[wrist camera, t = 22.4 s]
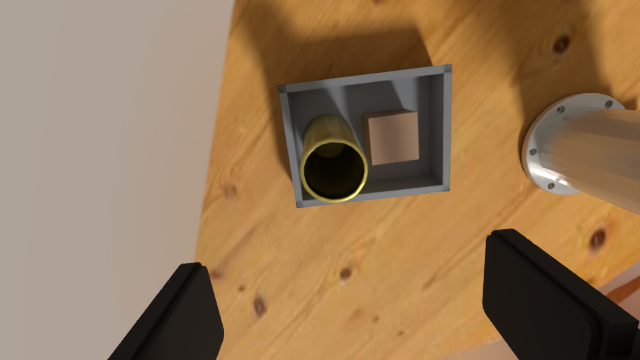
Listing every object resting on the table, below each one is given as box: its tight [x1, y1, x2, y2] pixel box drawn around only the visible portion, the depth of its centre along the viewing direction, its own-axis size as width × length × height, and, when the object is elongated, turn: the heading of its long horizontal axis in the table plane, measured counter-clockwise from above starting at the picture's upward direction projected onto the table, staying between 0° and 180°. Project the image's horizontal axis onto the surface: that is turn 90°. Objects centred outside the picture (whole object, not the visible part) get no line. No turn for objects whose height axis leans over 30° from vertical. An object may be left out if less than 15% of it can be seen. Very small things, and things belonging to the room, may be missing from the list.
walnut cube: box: [362, 108, 419, 165], centre depth 33 cm, size 5×5×5 cm
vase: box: [300, 114, 368, 203], centre depth 29 cm, size 6×6×14 cm
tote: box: [278, 64, 452, 208], centre depth 34 cm, size 18×14×5 cm
